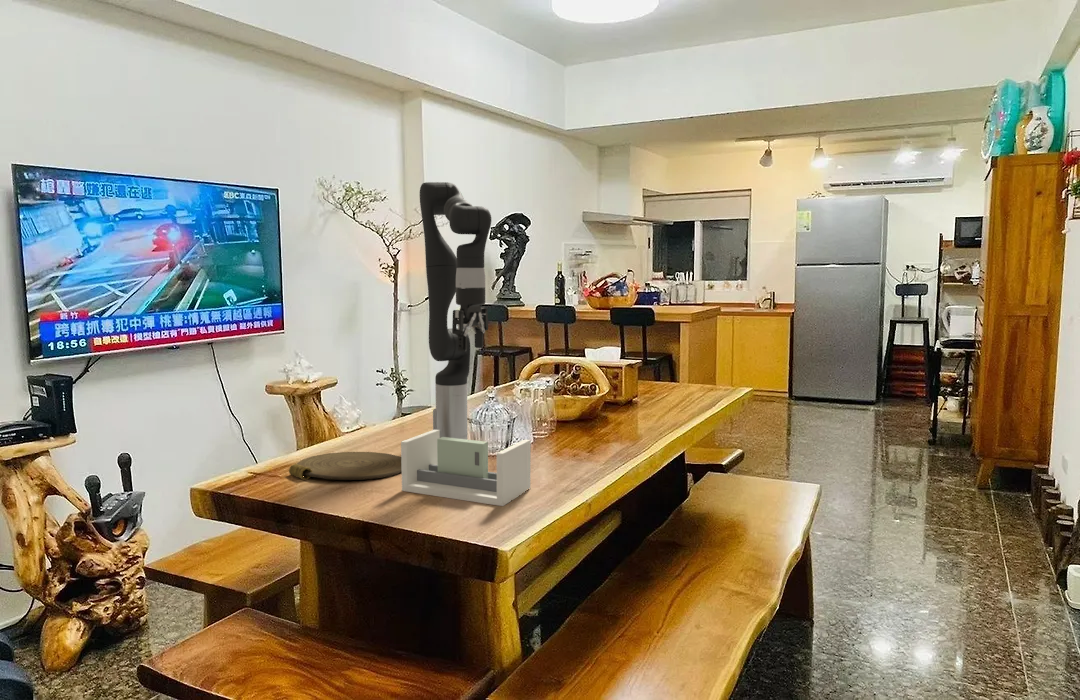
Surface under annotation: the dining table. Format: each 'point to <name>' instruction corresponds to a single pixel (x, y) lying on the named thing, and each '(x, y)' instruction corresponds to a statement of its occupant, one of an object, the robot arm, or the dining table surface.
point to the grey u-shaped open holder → (492, 490)
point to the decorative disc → (348, 466)
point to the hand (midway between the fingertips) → (470, 349)
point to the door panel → (462, 457)
